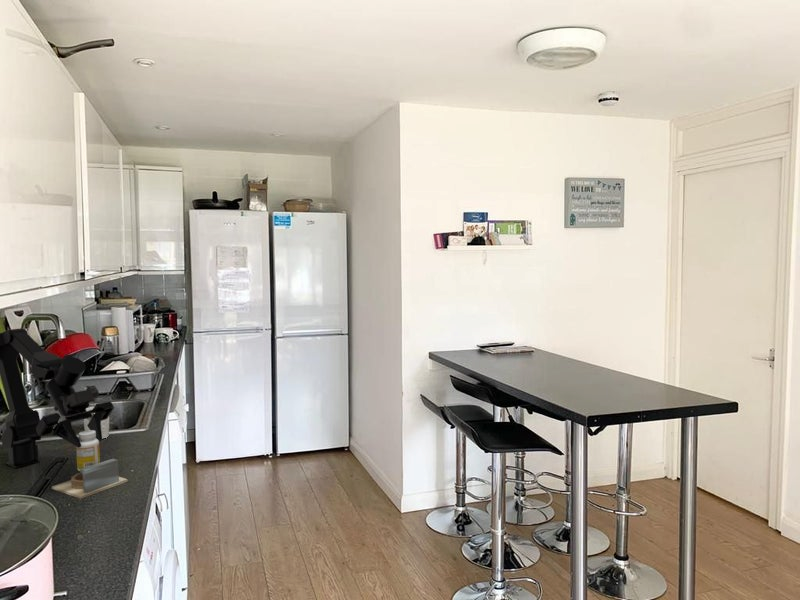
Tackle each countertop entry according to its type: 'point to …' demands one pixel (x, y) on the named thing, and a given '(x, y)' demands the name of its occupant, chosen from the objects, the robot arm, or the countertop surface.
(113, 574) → the countertop surface
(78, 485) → the seat dock
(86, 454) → the supplement bottle
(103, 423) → the white cup
